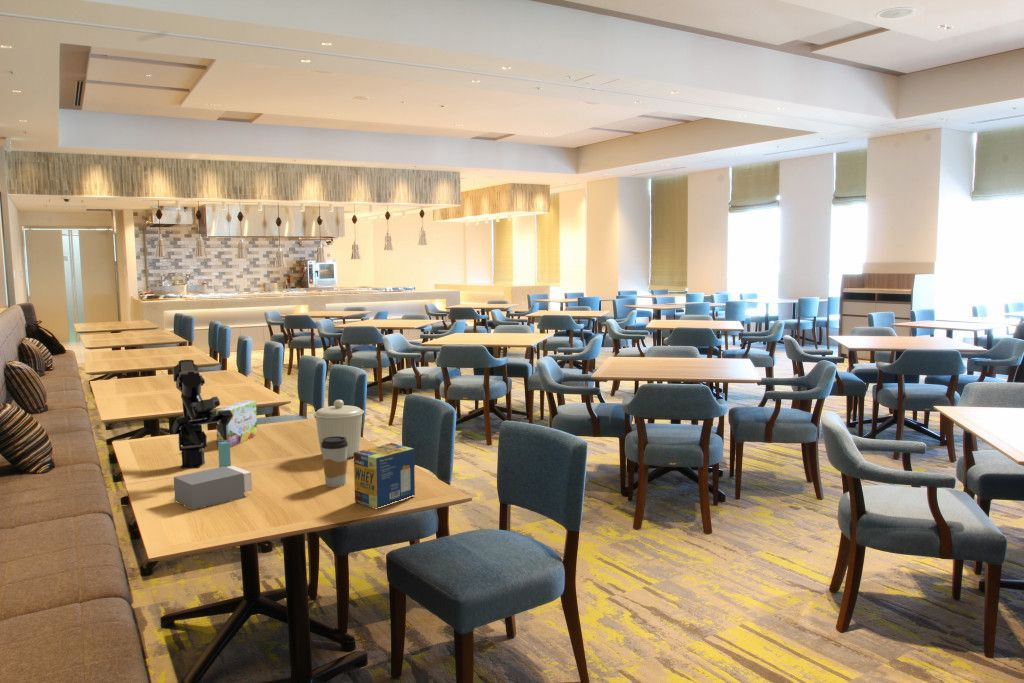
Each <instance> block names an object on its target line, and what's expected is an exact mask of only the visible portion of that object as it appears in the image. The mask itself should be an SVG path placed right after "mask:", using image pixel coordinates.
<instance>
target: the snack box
mask: <svg viewBox="0 0 1024 683" xmlns="http://www.w3.org/2000/svg"><path fill="white" fill-rule="evenodd" d="M215 410H216V411H215V412H216V413H215V414H216V415H217V414H218V412H219V411H224V410H230V411H231V412H232V414H233V416H232V418H231V420H230V422H229V424H228V425H226V432H227V439H226V440H224V439H223V438H222V436H221V435H220V433H219V431H218V430H217V429H216V448H218V443H219V442H224V441H226V442H229V443H230V448H232V447H234V446H237V445H239V444H241V442H242V443H244V442H246V441H249V440H251V439H254V438H255V437H254V436H256V435H257V436H258V426H257V425H258V423H257V422H258V419H257V414H258V413H257V401H256V400H243V401H240V402H237V403H233V404H231V405H228V406H224V407H221V408H218V409H215ZM216 415H215V416H216ZM257 436H256V437H257ZM253 437H254V438H253ZM250 438H251V439H250ZM248 439H249V440H248Z"/></svg>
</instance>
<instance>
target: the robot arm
mask: <svg viewBox="0 0 1024 683" xmlns="http://www.w3.org/2000/svg"><path fill="white" fill-rule="evenodd" d="M172 373H173V377H172V378H173V382H175V386H176V389H177V390H179V392H180V393H181V394H180V398H181V402H182V413H183V415H182V416H181V417H176V419H175V420H174V422H173V425H172V426H171V430H172V433H173V435H178V449H179V452H181V465H180V468H181V467H188V468H200V467H201V466H202V465H204V464H205V463H206V461H205V451H203V450H204V449H206V448H207V447H208V445H207V439H208V436H207V434H206V433H205V431H203V427H202V426H203V425H207V424H215V427H216V431H217V430H218V431H219V433H220V435H221V436H222V438H223V439H224V440H226V439H227V432H226V425H228V424H229V422H230V420H231V418H232V416H233V414H232V412H231V411H230V410H224V411H219V412H218V414H217V415H215V416H211V415H212V414H213V413H214V412H213V411H214V410H216V408H218V407H219V406H220V405H221V402H220V399H219V397H218V396H212V397H211V398H208V399H203V398H202V396H201V393H202V386H204V384H206V382H205V378H204V377H203V376H202V375H201V374H200V371H199V367H198V365H196V363H195V360H193V359H181V360H178V363H177V365H175V366H174V367H173V368H172Z"/></svg>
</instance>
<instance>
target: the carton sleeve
mask: <svg viewBox="0 0 1024 683" xmlns="http://www.w3.org/2000/svg"><path fill="white" fill-rule="evenodd" d="M173 487H174V488H173V490H174V491H173V492H174V502H175V501H177V502H179V503H181V504H183V505H185V506H187V507H189V508H188V509H190V508H191V509H190V510H192V509H196V510H199V509H198V508H200V509H202V508H201V507H204V506H208V507H210V506H209V505H212V506H214V505H213V504H216V505H219V504H218V503H220V504H224V503H228V502H232V501H235V500H239V498H240V499H244V498H245V492H244V479H243V473H241V472H238V471H236V470H233V469H230V468H228V467H225V466H223V467H219V466H218V467H214V468H210V469H205V470H200V471H195V472H191V473H186V474H182V475H177V476H174V477H173ZM231 500H232V501H231ZM227 501H228V502H227ZM177 502H176V503H177ZM223 502H224V503H223ZM179 503H178V504H179ZM181 504H180V505H181ZM183 505H182V506H183ZM185 506H184V507H185ZM187 507H186V508H187ZM204 508H205V507H204Z"/></svg>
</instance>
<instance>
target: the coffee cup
mask: <svg viewBox="0 0 1024 683" xmlns="http://www.w3.org/2000/svg"><path fill="white" fill-rule="evenodd" d="M347 446H348V444H347V441H346V438H345V437H341V436H334V437H327V438H324V439H323V442H322V446H321V447H322V452H323V454H322V464H323V473H324V480H325V481H324V482H325V485H326V486H327V487H329V486H330V487H329V488H338V487H337V486H340V487H342V486H341V485H343V486H345V485H346V483H347V469H348V468H347V466H348V458H347ZM322 452H321V453H322ZM344 484H345V485H344Z"/></svg>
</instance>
